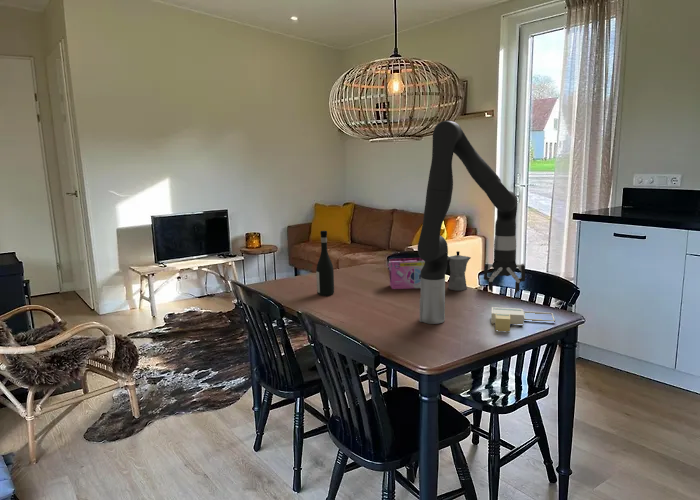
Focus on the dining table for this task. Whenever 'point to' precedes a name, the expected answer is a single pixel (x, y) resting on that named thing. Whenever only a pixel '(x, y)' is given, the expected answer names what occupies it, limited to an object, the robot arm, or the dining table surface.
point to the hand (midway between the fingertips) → (503, 291)
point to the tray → (538, 313)
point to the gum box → (405, 273)
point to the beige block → (502, 322)
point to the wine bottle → (324, 270)
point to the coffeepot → (457, 272)
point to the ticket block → (515, 314)
